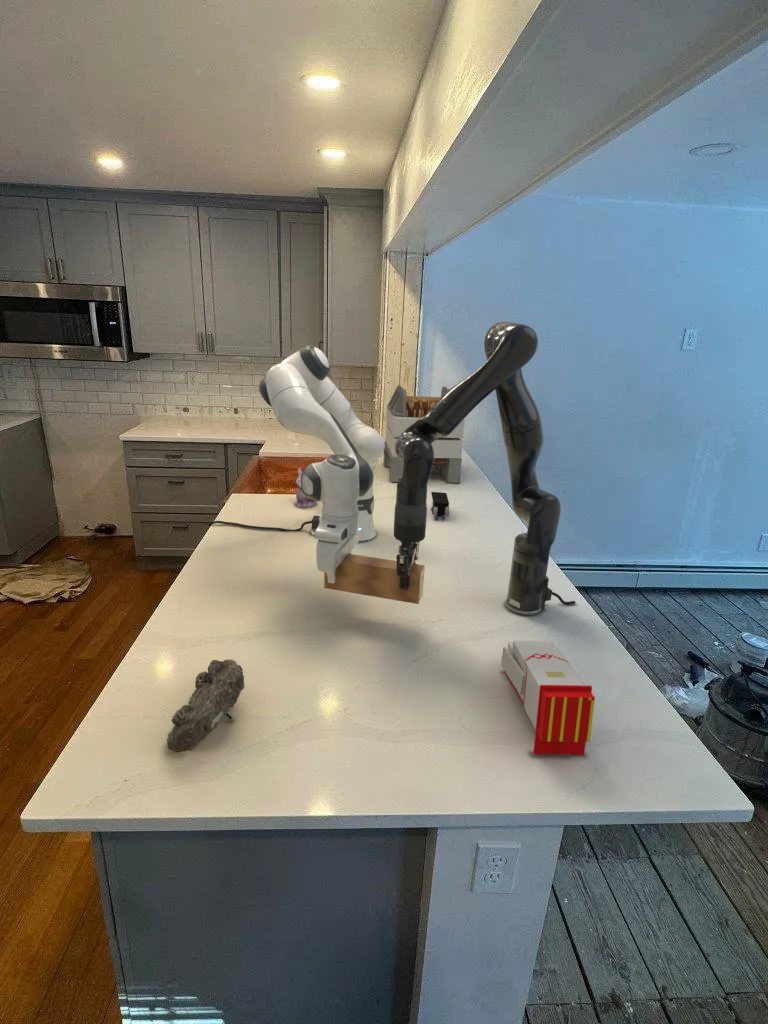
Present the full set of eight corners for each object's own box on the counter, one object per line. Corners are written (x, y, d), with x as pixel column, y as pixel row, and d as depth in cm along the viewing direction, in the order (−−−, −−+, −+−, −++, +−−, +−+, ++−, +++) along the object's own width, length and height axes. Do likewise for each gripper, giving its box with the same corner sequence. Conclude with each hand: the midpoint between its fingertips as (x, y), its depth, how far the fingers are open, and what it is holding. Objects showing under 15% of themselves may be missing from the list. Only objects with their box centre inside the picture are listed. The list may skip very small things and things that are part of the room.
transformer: (382, 463, 289) (386, 382, 275) (445, 464, 293) (451, 384, 279) (390, 482, 257) (394, 392, 243) (460, 483, 261) (468, 394, 247)
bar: (324, 588, 142) (324, 558, 139) (331, 580, 147) (331, 550, 144) (418, 604, 136) (420, 573, 133) (422, 595, 141) (424, 565, 138)
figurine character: (449, 525, 213) (445, 507, 227) (451, 507, 210) (447, 490, 224) (431, 524, 213) (428, 507, 227) (433, 506, 210) (430, 490, 223)
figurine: (299, 509, 219) (299, 472, 214) (290, 501, 227) (290, 465, 222) (322, 506, 223) (322, 469, 218) (313, 498, 231) (313, 463, 226)
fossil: (192, 660, 117) (244, 628, 112) (224, 691, 120) (276, 661, 115) (142, 746, 98) (202, 712, 93) (182, 779, 101) (242, 748, 96)
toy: (549, 624, 127) (604, 693, 98) (544, 678, 130) (596, 762, 100) (496, 622, 127) (535, 692, 97) (491, 677, 129) (528, 761, 100)
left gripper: (342, 507, 148) (341, 556, 153) (311, 535, 129) (311, 589, 134) (365, 510, 146) (363, 559, 151) (337, 539, 128) (336, 593, 132)
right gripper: (419, 531, 125) (414, 600, 131) (432, 511, 138) (427, 574, 144) (386, 527, 127) (383, 594, 133) (402, 507, 140) (399, 569, 146)
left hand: (338, 573), depth 142 cm, fingers open, 8 cm apart
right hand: (406, 583), depth 138 cm, fingers closed on bar, 4 cm apart
